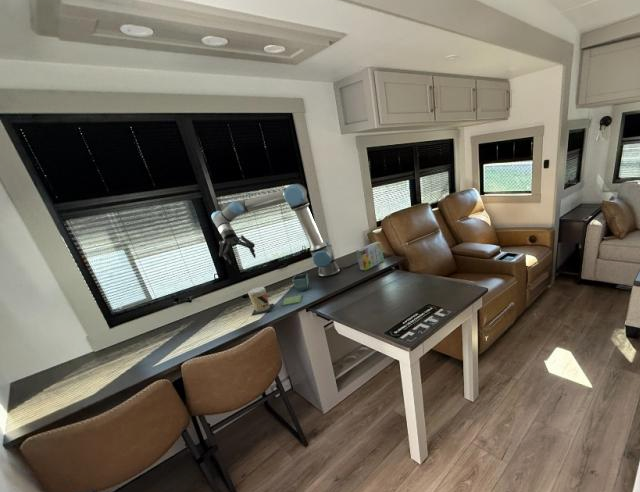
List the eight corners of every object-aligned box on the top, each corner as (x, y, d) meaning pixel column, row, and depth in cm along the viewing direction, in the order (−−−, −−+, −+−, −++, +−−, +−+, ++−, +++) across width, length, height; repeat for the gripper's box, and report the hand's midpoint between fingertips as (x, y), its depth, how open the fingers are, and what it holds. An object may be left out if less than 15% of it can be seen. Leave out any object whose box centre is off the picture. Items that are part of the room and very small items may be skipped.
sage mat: (301, 296, 194) (301, 295, 194) (299, 302, 185) (299, 301, 185) (285, 299, 193) (284, 298, 193) (282, 306, 184) (282, 304, 184)
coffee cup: (265, 312, 177) (258, 293, 173) (250, 312, 179) (244, 293, 175) (274, 304, 186) (268, 286, 181) (260, 305, 188) (254, 286, 183)
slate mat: (273, 304, 188) (273, 303, 188) (270, 311, 179) (269, 310, 178) (256, 308, 187) (256, 306, 186) (252, 315, 178) (251, 314, 177)
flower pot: (311, 285, 209) (307, 273, 205) (309, 290, 201) (306, 277, 197) (297, 288, 208) (294, 275, 205) (295, 293, 200) (292, 280, 197)
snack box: (379, 260, 240) (375, 241, 234) (384, 261, 236) (381, 241, 231) (359, 270, 225) (355, 250, 219) (365, 271, 222) (361, 250, 216)
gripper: (248, 231, 201) (263, 257, 196) (205, 242, 186) (221, 270, 181) (248, 224, 195) (264, 250, 190) (204, 234, 180) (220, 263, 175)
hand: (243, 260), depth 185 cm, fingers open, 13 cm apart
